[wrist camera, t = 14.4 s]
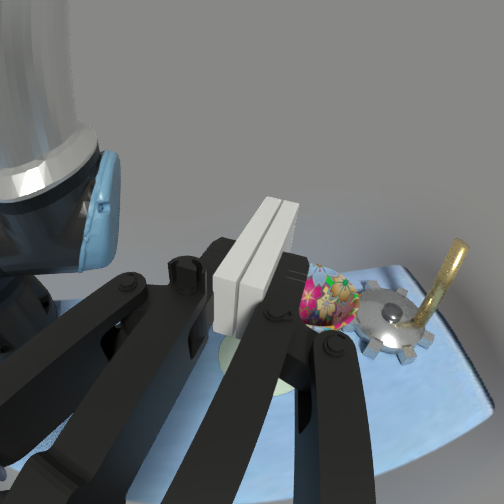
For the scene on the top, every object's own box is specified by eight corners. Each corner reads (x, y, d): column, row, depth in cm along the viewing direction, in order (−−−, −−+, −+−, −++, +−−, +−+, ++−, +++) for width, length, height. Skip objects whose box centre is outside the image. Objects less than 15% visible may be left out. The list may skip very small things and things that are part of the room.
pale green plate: (204, 379, 30) (203, 377, 30) (236, 314, 39) (236, 312, 38) (299, 407, 28) (300, 406, 27) (315, 335, 36) (316, 333, 36)
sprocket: (335, 351, 34) (380, 251, 25) (343, 279, 46) (370, 194, 37) (434, 370, 31) (496, 285, 22) (422, 299, 43) (459, 222, 34)
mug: (287, 315, 39) (303, 252, 32) (343, 353, 34) (374, 292, 28) (222, 367, 31) (223, 302, 25) (284, 418, 26) (309, 367, 20)
